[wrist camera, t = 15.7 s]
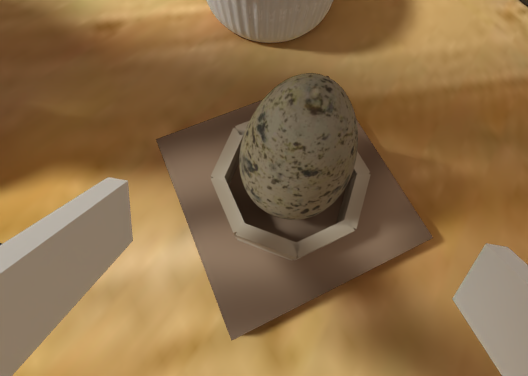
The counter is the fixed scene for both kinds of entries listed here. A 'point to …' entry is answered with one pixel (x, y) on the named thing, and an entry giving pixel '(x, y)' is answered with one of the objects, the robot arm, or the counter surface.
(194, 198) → the egg stand
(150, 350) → the counter surface
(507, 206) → the counter surface
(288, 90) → the decorative egg
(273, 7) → the ramekin
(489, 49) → the counter surface
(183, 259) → the counter surface
